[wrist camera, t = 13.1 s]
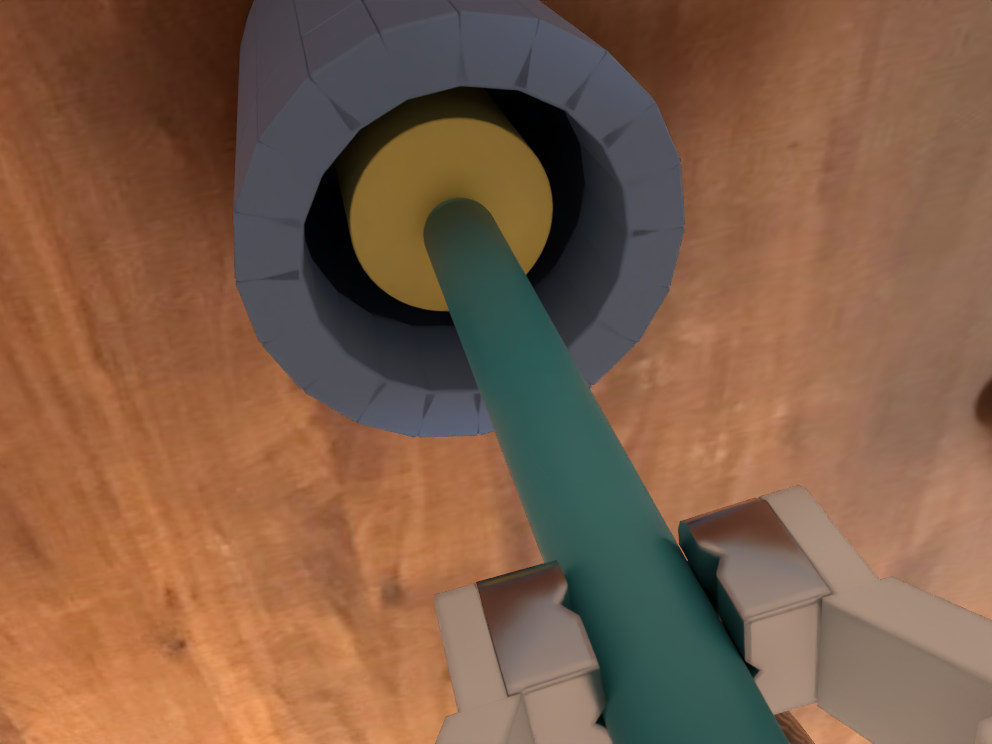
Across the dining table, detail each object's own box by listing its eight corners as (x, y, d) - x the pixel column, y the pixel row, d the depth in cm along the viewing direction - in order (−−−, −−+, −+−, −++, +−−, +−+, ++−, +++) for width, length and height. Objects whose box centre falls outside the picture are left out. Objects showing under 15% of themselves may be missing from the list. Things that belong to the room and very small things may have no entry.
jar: (196, -43, 27) (155, 86, 15) (495, -113, 27) (669, -41, 16) (292, 234, 32) (315, 484, 20) (540, 168, 33) (696, 374, 21)
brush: (310, 83, 23) (480, 954, 6) (486, 40, 23) (1134, 730, 6) (358, 245, 25) (575, 1171, 8) (516, 203, 26) (1026, 1006, 9)
